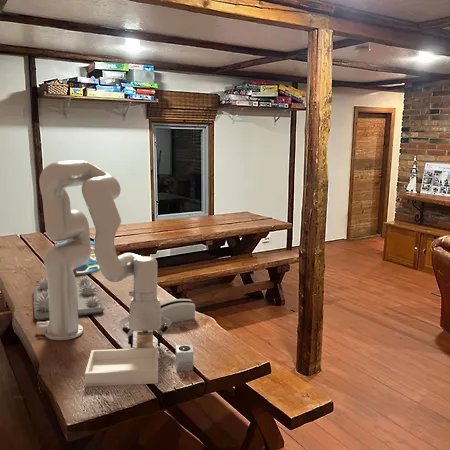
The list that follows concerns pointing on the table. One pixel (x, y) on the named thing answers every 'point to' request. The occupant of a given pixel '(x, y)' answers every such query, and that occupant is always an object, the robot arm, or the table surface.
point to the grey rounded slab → (178, 310)
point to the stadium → (89, 266)
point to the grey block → (184, 357)
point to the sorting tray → (122, 367)
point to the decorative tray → (86, 299)
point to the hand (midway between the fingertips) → (145, 345)
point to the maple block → (144, 339)
